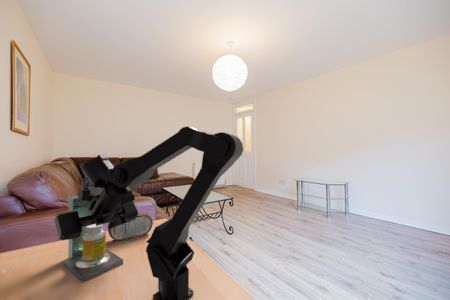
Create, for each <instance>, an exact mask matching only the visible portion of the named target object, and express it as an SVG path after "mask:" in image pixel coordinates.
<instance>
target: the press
mask: <svg viewBox="0 0 450 300" xmlns="http://www.w3.org/2000/svg"><path fill="white" fill-rule="evenodd" d="M88 204H89V203H88V201H80V199H79V198H78V195H70V196H68V197H67V207H68V211H73V210H76V211H77V212H78V215H79V218H80V217H85V216H89V215H90V213H91V210H88V208H87V206H88ZM86 233H87V232H86V227H82V232H81V234H80V235H81V236H80V237H78V238H77V239H75V240H73V241H72V239H69V240H68V255H67V256H68V257H67V258H65V259H63V265H64V266H65V267H66V268H67V269H68V271H69V272H71V274H73V275H74V276H75V277H76V278H77V279H78V280H79V281H80V282H81V283H83V282H86V281H88V280H90V279H93V278H95V277H97V276H99V275H102V274H104V273H105V272H108V271H110V270H113V269H114V268H116V267H119V266H122V265H123V264H124V259H123V258H121V257H120V256H119V255H117V254H115V253H113V252H112V251H110V250H109V249H107V248H105V258H104V259H103V260H101V261H100V262H97V263H94V264H84V263H83V261H82V258H83V236H84V234H86Z"/></svg>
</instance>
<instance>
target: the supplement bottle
mask: <svg viewBox="0 0 450 300" xmlns="http://www.w3.org/2000/svg"><path fill="white" fill-rule="evenodd" d="M103 228H104V224H102V225H98V226H96V224H93V225H90V226H86V232H87V233H86V234H84V236H83V258H82V261H83V263H84V264H94V263H97V262H100V261H101V260H103V259H104V258H105V249H106V241H107V240H106V238H107V237H106V231H105V230H104V229H103Z"/></svg>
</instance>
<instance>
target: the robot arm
mask: <svg viewBox="0 0 450 300" xmlns="http://www.w3.org/2000/svg"><path fill="white" fill-rule="evenodd" d="M192 148H193V149H196V150H197V151H200V152H203V153H202V160H201V167H200V169H199V172H198V173H197V175H196V177H195V178H194V180H193V181H192V183H191V185H190V186H189V188H188V190H187V192H186V193H185V195H184V196H183V199H182V200H181V202H180V203H179V205H178V207H177V209H176V210H175V212H174V213H173V215H172V217H171V218H169V219H168V220H165V221H163V222H162V223H160V224H159V225H158V224H157V226H155V228H154V229H153V231H152V234H151V236H150V238H149V239H147V240H146V243H148V244H147V245H146V248H145V252H146V255H147V260H148V263H149V266H150V271H151V275H152V277H153V278H157V280H158V281H157V282H158V283H157V284H158V286H157V288H158V290H157V291H156V292H155V293H153V295H152V299H153V300H187V299H189V298H190V297H192V295H194V293H195V292H194V289H192V288H190V287H189V282H190V278H189V277H190V275H189V274H190V270H189V269H190V268H188V264H189V263H190V262H191V261H192V260H193V258H194V254H195V251H194V250H193V248H192V247H191V246H190V245H189V243H188V237H189V230H190V226H191V225H192V223H193V222H194V221H195V219H196V218H197V216H198V214H199V213H200V210H201V209H202V207H203V206H204V204H205V202H206V200H207V199H208V197H209V195H210V194H211V193H212V192H213V189H214V188H215V186H216V184H217V183H218V182H219V180H220V179H221V177H222V176H223V175H224V174H225V173H226V172H227V171H228V170H229V169H230V168H231V167H232V166H233V165H234V164H235V163H236V162H237V161H238V160H239V158H240V157H241V156H242V154H243V152H244V145H243V142H242V140H241V139H240V138H239V137H238V136H237V135H234V134H231V133H228V132H227V133H226V132H216V133H214V134H212V133H209V132H206V131H202V130H199V128H195V127H192V126H184V127H182V128H180V129H179V130H178V132H175V133H174V134H173V135H171V136H169V138H166V139H165V140H164V141H162V142H161V143H159V144H158V145H156V146H154V147H153V148H152V149H150V150H148V151H147V152H145V153H144V154H141V155H140V156H138V157H134V158H131V159H126V160H124V161H121V162H120V163H117V164H115V165H114V164H112V163H111V161H110V160H109V157H108V156H107V155H106V154H98V155H97V156H96V157H94V158H92V159H90V160H88V161H86V162H84V163H83V164H82V166H81V168H80V169H81V171H82V173H83V174H84V175H85V177H86V178H87V179H88V181H89V182H90V184H91V185H88V186H83V187H80V188H79V190H78V193H77V196H78V198H79V199H80V201H88V203H89V204H88V206H87V208H88V210H91V213H90V215H89V216H85V217H80V218H79V215H78V212H77V211H76V210H73V211H69V210H68V211H64V212H59V213H57V214H56V216H55V218H54V223H55V229H56V232H57V235H58V239H59V240H60V241H66V240H67V241H69V239H72V241H73V240H75V239H77V238H78V237H80V236H81V235H80V234H81V232H82V227H86V226H90V225H93V224H96V226H98V225H102V224H103V225H105V224H107V230H108V229H109V230H110V229H112V228H115V227H117V226H120V225H122V224H125V223H127V222H130V221H131V220H135V219H136V217H137V216H138V213H139V209H138V208H137V206H136V204H135V201H136V198H135V195H134V193H133V191H132V190H131V187H134V186H135V187H136V186H139V185H140V186H141V185H143V184H144V183H146V182H147V181H148V180H149V179H151V177H152V176H153V174H154V173H155V171H156V170H158V169H159V168H161V167H163V166H164V165H166V164H167V163H169V162H170V161H172V160H174V159H175V158H177V157H178V156H181V155H182V154H183V153H185V152H187V151H188V150H190V149H192Z"/></svg>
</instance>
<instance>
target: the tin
mask: <svg viewBox="0 0 450 300" xmlns="http://www.w3.org/2000/svg"><path fill="white" fill-rule="evenodd" d="M153 222H154V221H153V219H152V217H151V215H150V214H149V213H147V212H138V216H137V217H136V219H135V220H131V221H130V222H127V223H125V224H122V225H120V226H117V227H115V228H112V229H110V230H109V229H108V228H107V233H108V236H109V237H110V238H111V239H113V240H115V241H124V240H130V239H135V238H139V237H144V236H146V235H147V234H148V233H150V231H151V230H152V228H153V224H154V223H153Z"/></svg>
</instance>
